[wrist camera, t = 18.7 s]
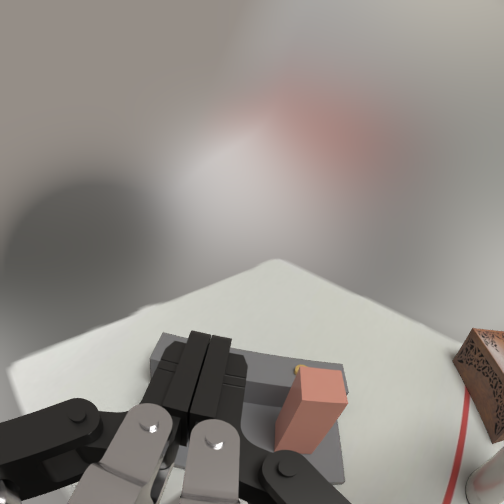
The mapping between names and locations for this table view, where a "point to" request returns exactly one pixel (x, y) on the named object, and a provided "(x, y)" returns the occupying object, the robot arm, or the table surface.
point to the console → (270, 405)
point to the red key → (310, 409)
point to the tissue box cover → (485, 377)
